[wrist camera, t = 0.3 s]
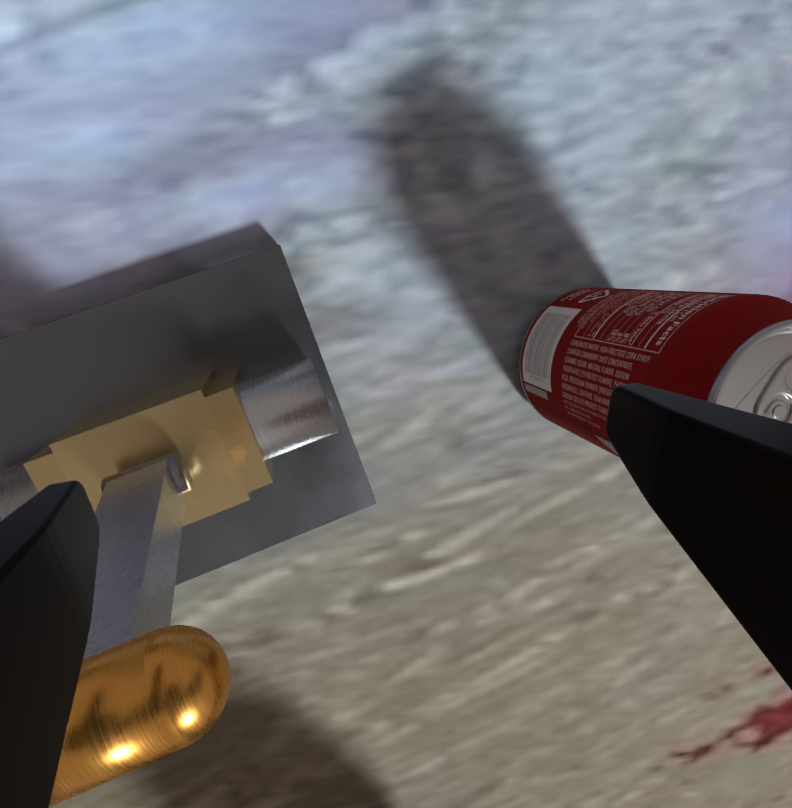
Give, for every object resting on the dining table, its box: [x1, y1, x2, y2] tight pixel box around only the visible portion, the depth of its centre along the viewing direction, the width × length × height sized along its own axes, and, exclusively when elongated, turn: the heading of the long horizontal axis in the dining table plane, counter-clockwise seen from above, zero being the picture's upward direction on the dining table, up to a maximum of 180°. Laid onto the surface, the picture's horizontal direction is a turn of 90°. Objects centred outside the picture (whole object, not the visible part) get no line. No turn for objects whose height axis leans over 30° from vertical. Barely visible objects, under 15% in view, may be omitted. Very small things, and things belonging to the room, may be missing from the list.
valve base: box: [0, 245, 376, 585], centre depth 22 cm, size 12×14×5 cm
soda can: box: [519, 288, 792, 457], centre depth 22 cm, size 7×7×12 cm
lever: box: [49, 451, 231, 808], centre depth 14 cm, size 2×5×11 cm, turn 109°
